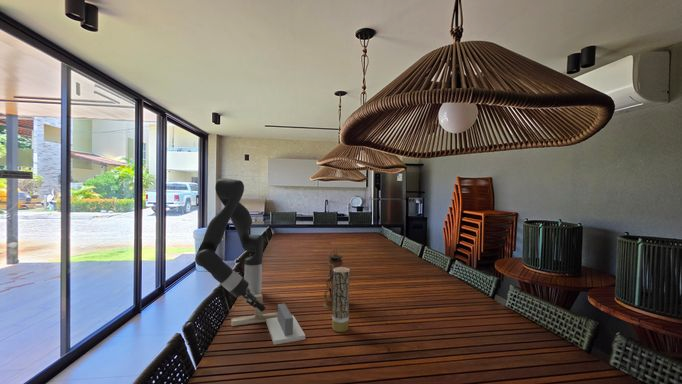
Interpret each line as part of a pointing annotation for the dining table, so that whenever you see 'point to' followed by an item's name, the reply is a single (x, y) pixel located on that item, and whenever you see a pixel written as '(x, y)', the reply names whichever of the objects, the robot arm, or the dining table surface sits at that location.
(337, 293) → the bark print canister
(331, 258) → the lantern
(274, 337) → the ridge stand
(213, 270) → the robot arm
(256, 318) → the birch T-bar
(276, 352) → the dining table surface
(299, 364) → the dining table surface
